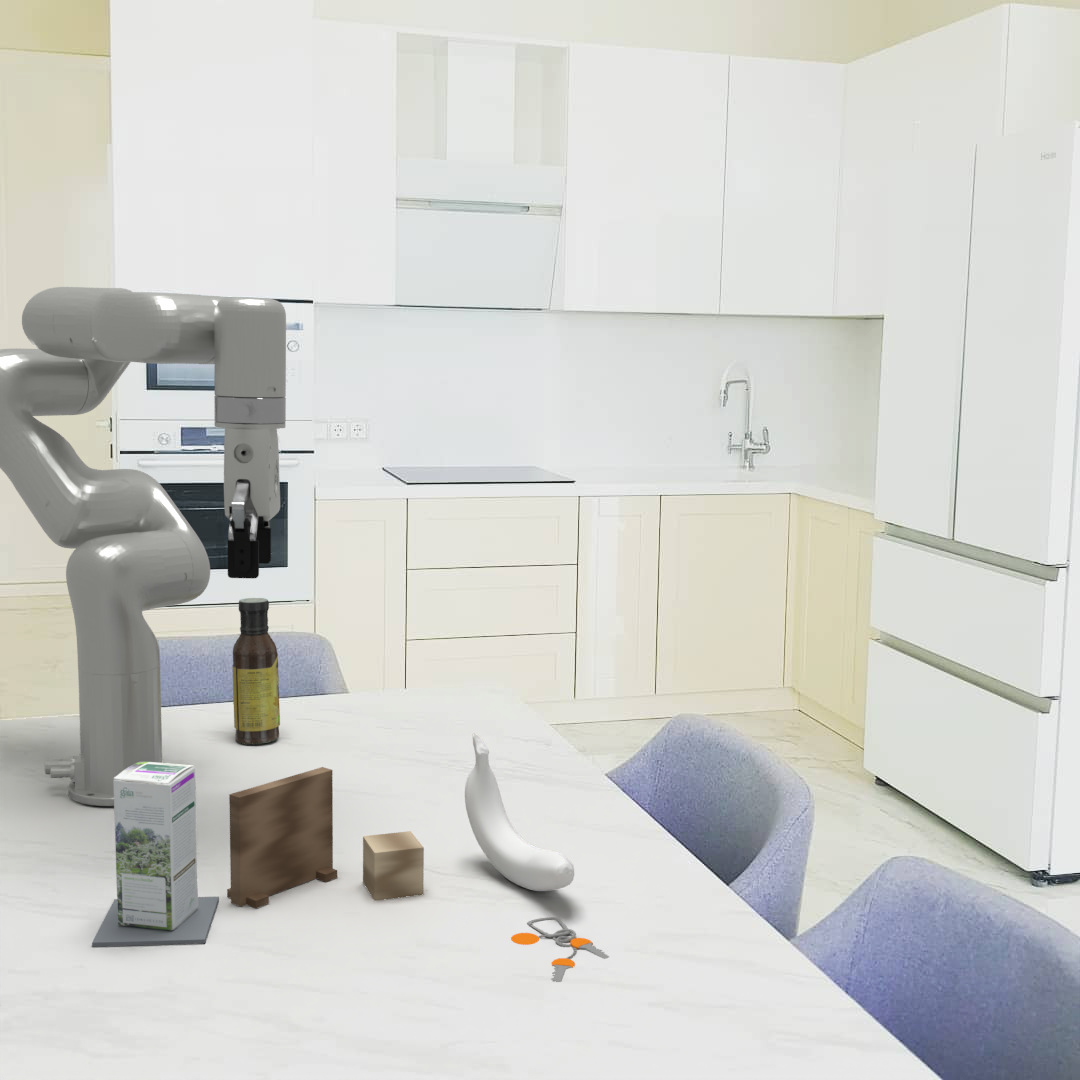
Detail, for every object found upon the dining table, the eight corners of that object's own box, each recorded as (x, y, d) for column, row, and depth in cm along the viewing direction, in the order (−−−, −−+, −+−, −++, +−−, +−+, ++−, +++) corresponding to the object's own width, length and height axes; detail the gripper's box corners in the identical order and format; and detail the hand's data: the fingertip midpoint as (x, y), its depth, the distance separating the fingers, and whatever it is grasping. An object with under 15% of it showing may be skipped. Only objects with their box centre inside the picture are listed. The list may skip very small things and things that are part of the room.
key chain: (494, 930, 128) (494, 921, 128) (565, 918, 131) (565, 910, 131) (550, 987, 117) (550, 978, 117) (625, 973, 120) (626, 964, 120)
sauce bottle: (288, 740, 189) (287, 600, 187) (249, 749, 185) (248, 605, 182) (263, 731, 194) (261, 594, 191) (224, 739, 189) (222, 599, 187)
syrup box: (200, 908, 130) (197, 762, 128) (172, 933, 125) (169, 780, 123) (145, 903, 131) (141, 757, 130) (115, 927, 126) (110, 776, 124)
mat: (92, 946, 122) (91, 942, 122) (114, 903, 132) (114, 899, 132) (205, 943, 124) (204, 939, 123) (219, 900, 133) (219, 896, 133)
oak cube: (374, 901, 134) (374, 852, 133) (363, 883, 139) (363, 836, 138) (423, 895, 136) (423, 847, 135) (410, 877, 140) (410, 831, 140)
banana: (559, 922, 130) (561, 773, 128) (449, 862, 145) (450, 728, 143) (598, 910, 132) (601, 765, 131) (487, 852, 147) (488, 721, 146)
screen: (250, 910, 131) (248, 800, 130) (221, 899, 134) (219, 791, 132) (342, 875, 140) (342, 772, 139) (313, 865, 143) (313, 764, 142)
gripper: (275, 419, 138) (274, 584, 140) (294, 410, 155) (293, 558, 157) (200, 417, 137) (200, 583, 140) (227, 408, 154) (228, 557, 157)
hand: (250, 570), depth 149 cm, fingers open, 9 cm apart
